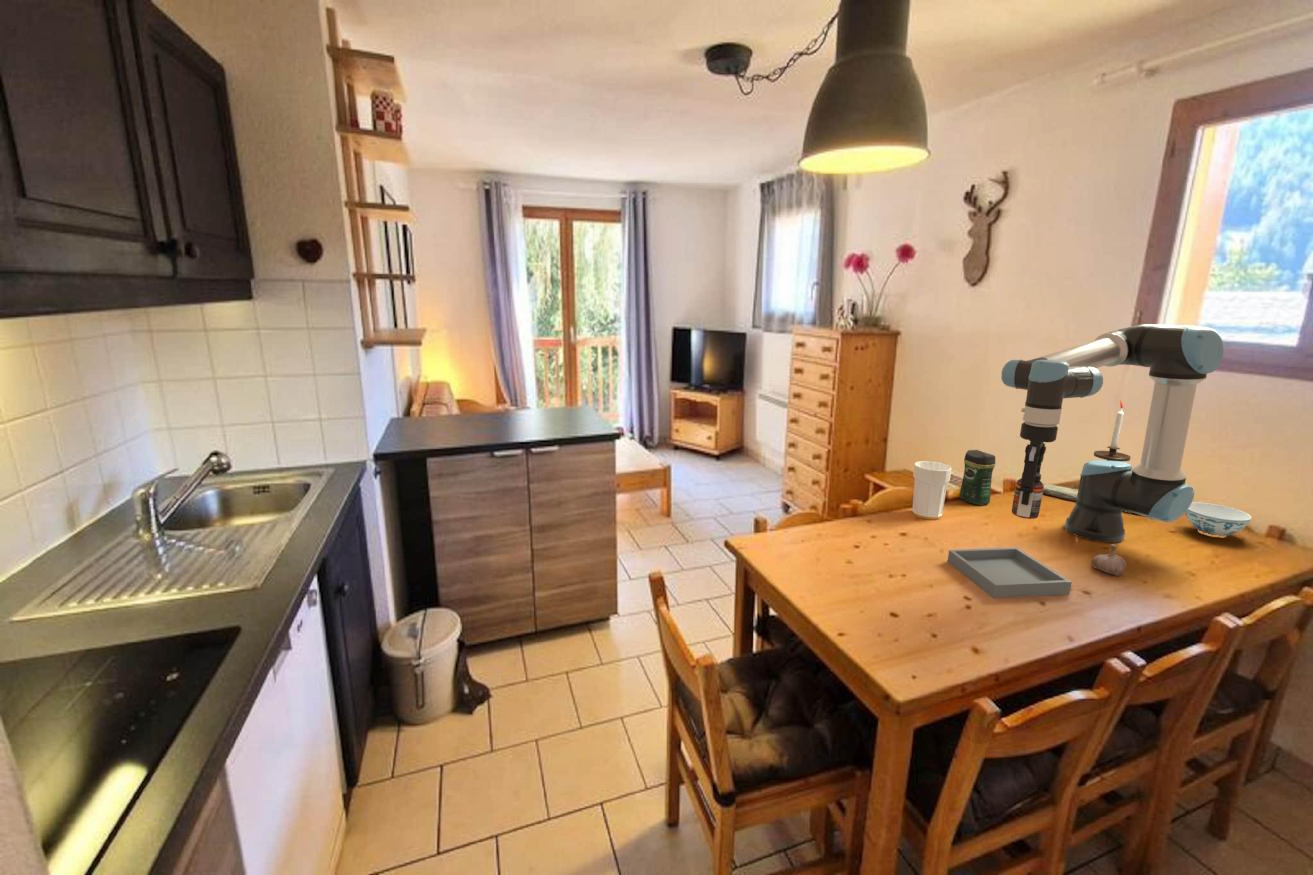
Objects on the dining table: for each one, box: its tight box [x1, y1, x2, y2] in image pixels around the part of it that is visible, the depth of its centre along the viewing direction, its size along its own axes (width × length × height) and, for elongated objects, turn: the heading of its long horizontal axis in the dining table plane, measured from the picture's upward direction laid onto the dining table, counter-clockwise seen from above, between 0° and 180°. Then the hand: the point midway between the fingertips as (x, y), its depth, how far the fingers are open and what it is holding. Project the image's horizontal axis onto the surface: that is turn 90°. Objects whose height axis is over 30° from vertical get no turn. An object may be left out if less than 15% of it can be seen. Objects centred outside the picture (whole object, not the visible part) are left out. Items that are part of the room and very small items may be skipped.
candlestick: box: [1093, 400, 1132, 462], centre depth 215 cm, size 11×11×35 cm
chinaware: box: [1184, 501, 1252, 536], centre depth 180 cm, size 15×15×8 cm
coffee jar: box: [959, 449, 996, 506], centre depth 207 cm, size 10×8×19 cm
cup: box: [911, 460, 952, 521], centre depth 194 cm, size 11×11×17 cm
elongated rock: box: [1043, 483, 1133, 514], centre depth 208 cm, size 35×5×10 cm
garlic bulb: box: [1090, 543, 1127, 577], centre depth 156 cm, size 8×7×8 cm
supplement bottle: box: [1011, 472, 1044, 520], centre depth 147 cm, size 6×6×11 cm
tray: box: [947, 546, 1072, 599], centre depth 153 cm, size 20×20×4 cm
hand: (1025, 511), depth 148 cm, fingers closed on supplement bottle, 6 cm apart
